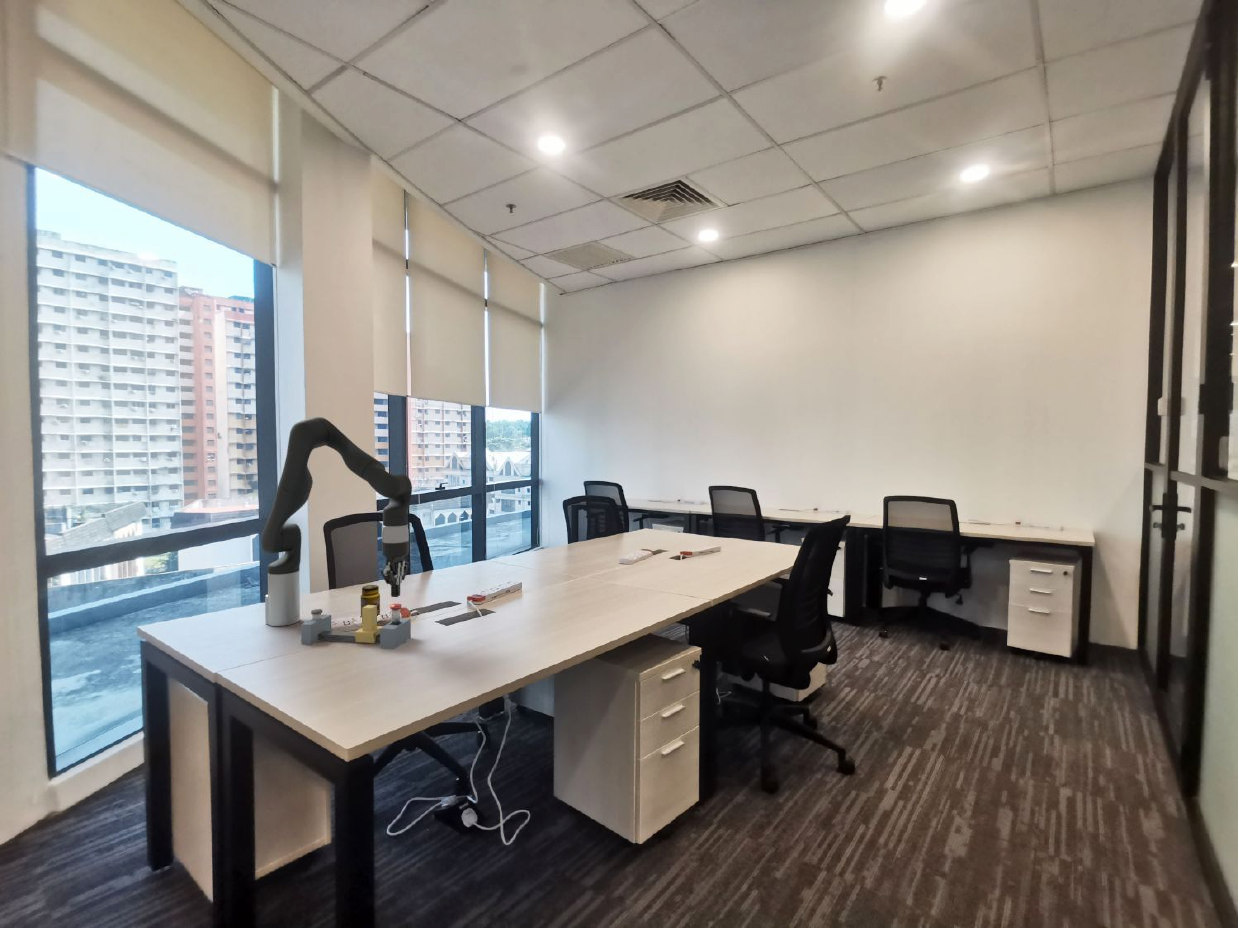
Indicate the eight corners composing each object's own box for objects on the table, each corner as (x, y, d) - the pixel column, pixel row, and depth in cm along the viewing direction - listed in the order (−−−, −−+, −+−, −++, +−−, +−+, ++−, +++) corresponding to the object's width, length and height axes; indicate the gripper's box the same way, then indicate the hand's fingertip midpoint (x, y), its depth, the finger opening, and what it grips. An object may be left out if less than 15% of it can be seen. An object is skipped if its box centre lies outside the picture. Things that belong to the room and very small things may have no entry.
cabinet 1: (301, 643, 169) (301, 615, 169) (322, 632, 179) (322, 605, 179) (310, 644, 169) (310, 615, 168) (331, 633, 179) (331, 606, 178)
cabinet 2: (380, 648, 166) (380, 628, 166) (397, 636, 176) (397, 617, 176) (394, 648, 166) (394, 628, 165) (410, 637, 176) (410, 618, 175)
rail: (318, 640, 172) (318, 633, 172) (324, 637, 175) (324, 630, 175) (386, 644, 170) (386, 637, 170) (391, 640, 173) (391, 634, 172)
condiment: (384, 621, 191) (384, 586, 191) (358, 626, 185) (358, 591, 185) (376, 616, 197) (376, 582, 196) (350, 621, 191) (350, 586, 190)
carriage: (354, 642, 169) (354, 608, 169) (366, 635, 175) (365, 603, 175) (373, 643, 168) (373, 609, 168) (384, 636, 174) (383, 604, 174)
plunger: (388, 625, 169) (388, 606, 169) (393, 622, 172) (393, 603, 172) (398, 625, 169) (398, 606, 169) (403, 622, 172) (403, 603, 172)
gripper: (395, 543, 163) (396, 602, 163) (417, 536, 176) (417, 591, 176) (371, 543, 164) (372, 601, 164) (395, 536, 177) (395, 590, 177)
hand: (395, 596), depth 170 cm, fingers closed
